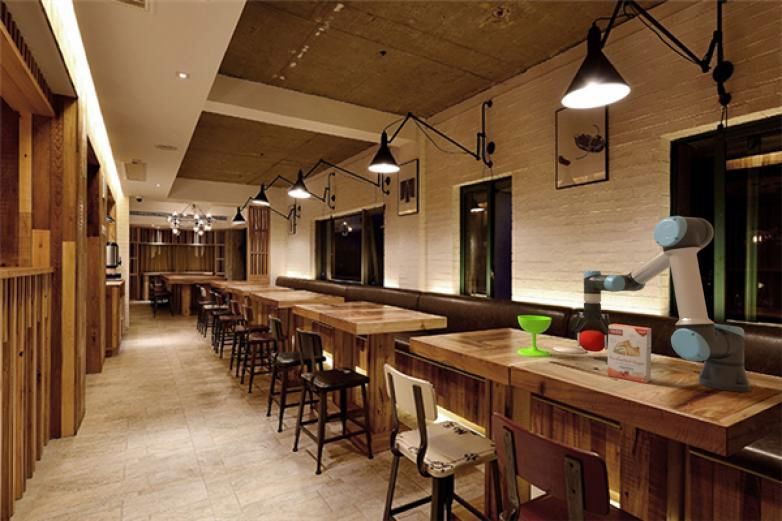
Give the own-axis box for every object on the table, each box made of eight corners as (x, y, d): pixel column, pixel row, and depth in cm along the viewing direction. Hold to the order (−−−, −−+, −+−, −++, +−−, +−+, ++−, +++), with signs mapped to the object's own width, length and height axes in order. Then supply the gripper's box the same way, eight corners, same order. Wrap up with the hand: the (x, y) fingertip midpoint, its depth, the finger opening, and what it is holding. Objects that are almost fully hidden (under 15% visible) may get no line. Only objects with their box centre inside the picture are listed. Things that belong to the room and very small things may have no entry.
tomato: (610, 351, 198) (610, 329, 198) (598, 354, 190) (598, 332, 190) (586, 348, 207) (586, 326, 207) (574, 351, 199) (574, 329, 199)
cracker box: (607, 376, 166) (607, 324, 166) (612, 373, 170) (613, 323, 170) (646, 384, 156) (647, 329, 156) (651, 381, 160) (651, 327, 160)
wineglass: (556, 353, 206) (556, 317, 206) (542, 358, 195) (543, 320, 195) (525, 348, 217) (526, 314, 217) (511, 353, 206) (512, 317, 206)
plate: (581, 355, 203) (581, 353, 203) (548, 350, 213) (548, 348, 213) (590, 350, 215) (590, 348, 215) (558, 345, 225) (558, 344, 225)
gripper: (621, 303, 194) (621, 349, 194) (569, 300, 209) (569, 343, 209) (618, 304, 188) (618, 352, 188) (564, 301, 204) (564, 345, 203)
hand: (592, 347), depth 198 cm, fingers closed on tomato, 11 cm apart
